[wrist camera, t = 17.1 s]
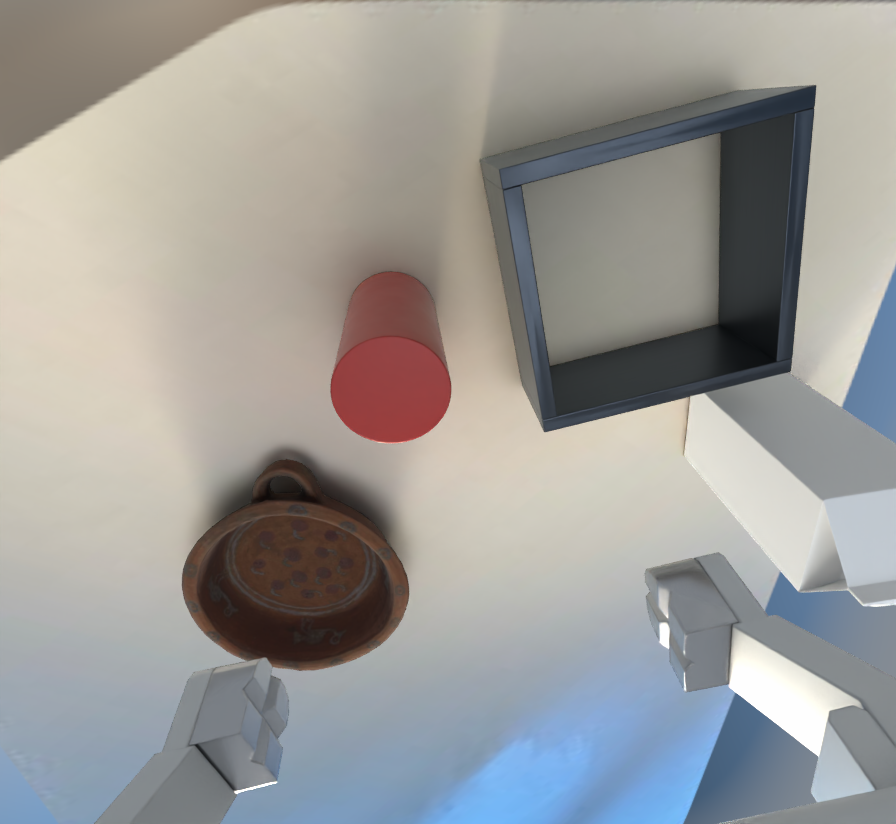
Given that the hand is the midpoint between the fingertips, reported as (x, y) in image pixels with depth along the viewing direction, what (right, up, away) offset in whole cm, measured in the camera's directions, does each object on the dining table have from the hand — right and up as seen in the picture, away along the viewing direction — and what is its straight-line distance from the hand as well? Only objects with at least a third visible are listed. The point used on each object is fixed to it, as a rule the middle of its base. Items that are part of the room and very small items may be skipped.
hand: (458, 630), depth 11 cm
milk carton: (+22, +5, +33) cm, 40 cm away
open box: (+11, +15, +25) cm, 32 cm away
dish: (-13, -8, +36) cm, 39 cm away
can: (-4, +11, +26) cm, 29 cm away
